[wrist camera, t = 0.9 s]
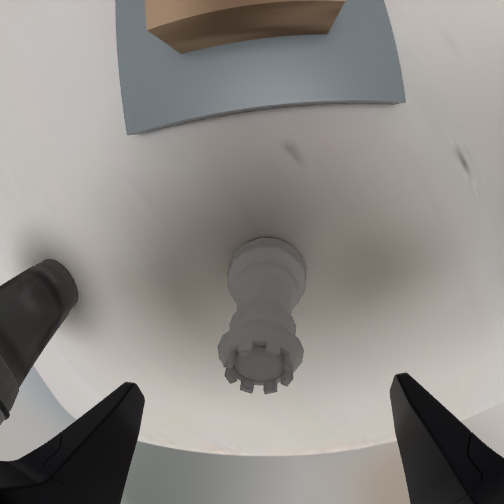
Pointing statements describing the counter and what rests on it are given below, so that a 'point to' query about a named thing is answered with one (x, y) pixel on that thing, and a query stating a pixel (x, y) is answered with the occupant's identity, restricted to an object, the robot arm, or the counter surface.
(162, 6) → the base brick
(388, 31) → the build plate
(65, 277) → the beverage cup
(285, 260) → the rook chess piece
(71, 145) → the counter surface
